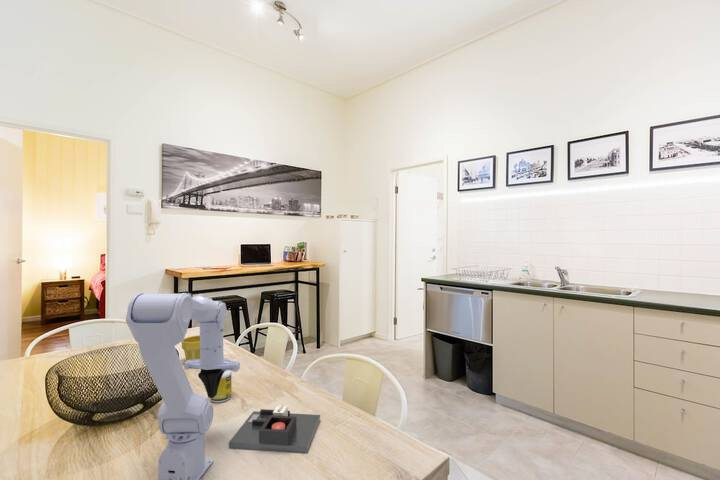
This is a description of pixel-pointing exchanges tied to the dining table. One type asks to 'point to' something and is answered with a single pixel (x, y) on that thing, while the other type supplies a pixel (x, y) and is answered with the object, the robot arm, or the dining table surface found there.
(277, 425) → the button
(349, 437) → the dining table surface
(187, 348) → the plant pot
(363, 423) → the dining table surface
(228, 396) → the pill bottle
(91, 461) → the dining table surface
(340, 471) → the dining table surface
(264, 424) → the panel
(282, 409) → the sliding toggle
